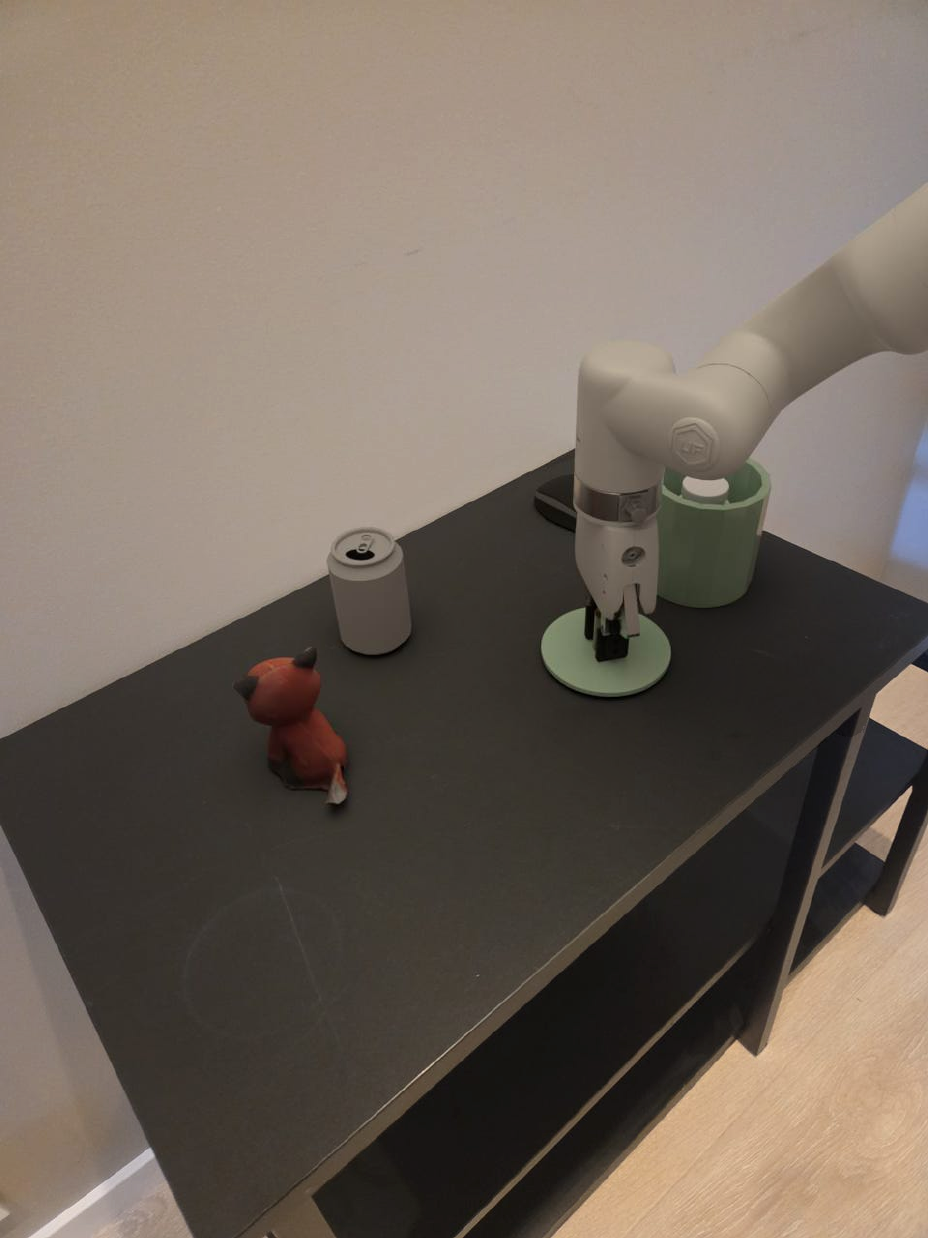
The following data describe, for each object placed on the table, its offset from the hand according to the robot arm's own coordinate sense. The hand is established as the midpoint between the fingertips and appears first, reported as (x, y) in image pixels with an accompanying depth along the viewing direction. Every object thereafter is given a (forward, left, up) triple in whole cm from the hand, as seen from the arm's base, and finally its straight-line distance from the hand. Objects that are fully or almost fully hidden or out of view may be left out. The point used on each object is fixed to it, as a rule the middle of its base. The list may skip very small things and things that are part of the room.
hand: (605, 645), depth 87 cm
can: (+22, -9, -2) cm, 24 cm away
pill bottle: (-14, -10, -1) cm, 17 cm away
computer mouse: (-5, -25, -2) cm, 26 cm away
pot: (-14, -10, -1) cm, 17 cm away
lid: (0, 0, -1) cm, 1 cm away
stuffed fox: (+30, +8, -2) cm, 31 cm away
